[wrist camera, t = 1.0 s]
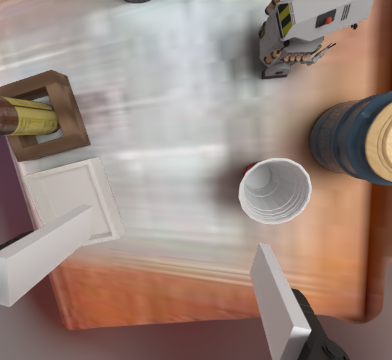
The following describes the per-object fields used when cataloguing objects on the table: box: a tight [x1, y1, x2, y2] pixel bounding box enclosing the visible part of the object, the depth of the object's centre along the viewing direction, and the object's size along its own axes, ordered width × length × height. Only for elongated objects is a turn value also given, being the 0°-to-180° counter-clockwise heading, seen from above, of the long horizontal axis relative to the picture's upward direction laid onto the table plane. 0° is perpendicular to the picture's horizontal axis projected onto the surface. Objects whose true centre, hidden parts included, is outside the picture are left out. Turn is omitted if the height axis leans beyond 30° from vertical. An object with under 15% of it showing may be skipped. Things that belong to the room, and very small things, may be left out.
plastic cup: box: [239, 158, 312, 224], centre depth 35 cm, size 11×11×12 cm
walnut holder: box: [0, 70, 91, 162], centre depth 40 cm, size 14×14×4 cm
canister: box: [309, 91, 392, 185], centre depth 30 cm, size 13×13×18 cm
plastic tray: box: [22, 157, 125, 246], centre depth 44 cm, size 18×16×4 cm
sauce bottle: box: [0, 96, 60, 136], centre depth 33 cm, size 6×6×20 cm
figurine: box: [259, 0, 374, 79], centre depth 29 cm, size 9×12×15 cm
